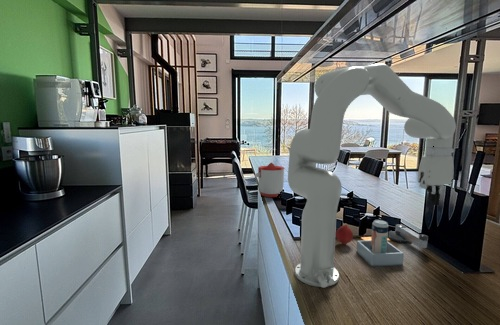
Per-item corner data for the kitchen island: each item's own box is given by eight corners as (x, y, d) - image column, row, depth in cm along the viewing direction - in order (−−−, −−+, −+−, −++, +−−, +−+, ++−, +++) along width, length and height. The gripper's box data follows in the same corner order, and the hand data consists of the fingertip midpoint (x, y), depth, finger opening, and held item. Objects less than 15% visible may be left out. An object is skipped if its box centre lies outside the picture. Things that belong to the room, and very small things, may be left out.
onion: (341, 248, 100) (342, 227, 99) (332, 242, 106) (333, 221, 104) (355, 247, 102) (356, 225, 100) (346, 240, 107) (347, 220, 106)
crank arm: (393, 231, 110) (394, 221, 110) (401, 231, 111) (402, 221, 110) (420, 249, 96) (421, 237, 95) (430, 248, 96) (431, 237, 95)
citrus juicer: (252, 192, 177) (253, 161, 174) (279, 191, 180) (280, 160, 177) (258, 199, 161) (258, 165, 158) (287, 198, 164) (288, 164, 161)
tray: (402, 265, 89) (403, 253, 89) (372, 266, 88) (372, 254, 87) (384, 250, 99) (385, 239, 99) (356, 251, 98) (357, 240, 97)
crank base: (416, 242, 106) (417, 238, 105) (368, 244, 104) (368, 240, 103) (403, 233, 114) (403, 229, 113) (358, 235, 112) (358, 231, 111)
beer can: (372, 251, 97) (374, 218, 95) (387, 256, 94) (390, 221, 92) (368, 257, 93) (370, 222, 91) (383, 261, 90) (386, 225, 88)
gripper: (450, 150, 100) (445, 200, 103) (410, 151, 99) (406, 201, 102) (468, 153, 93) (462, 206, 96) (424, 154, 92) (420, 208, 95)
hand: (433, 204), depth 99 cm, fingers closed
